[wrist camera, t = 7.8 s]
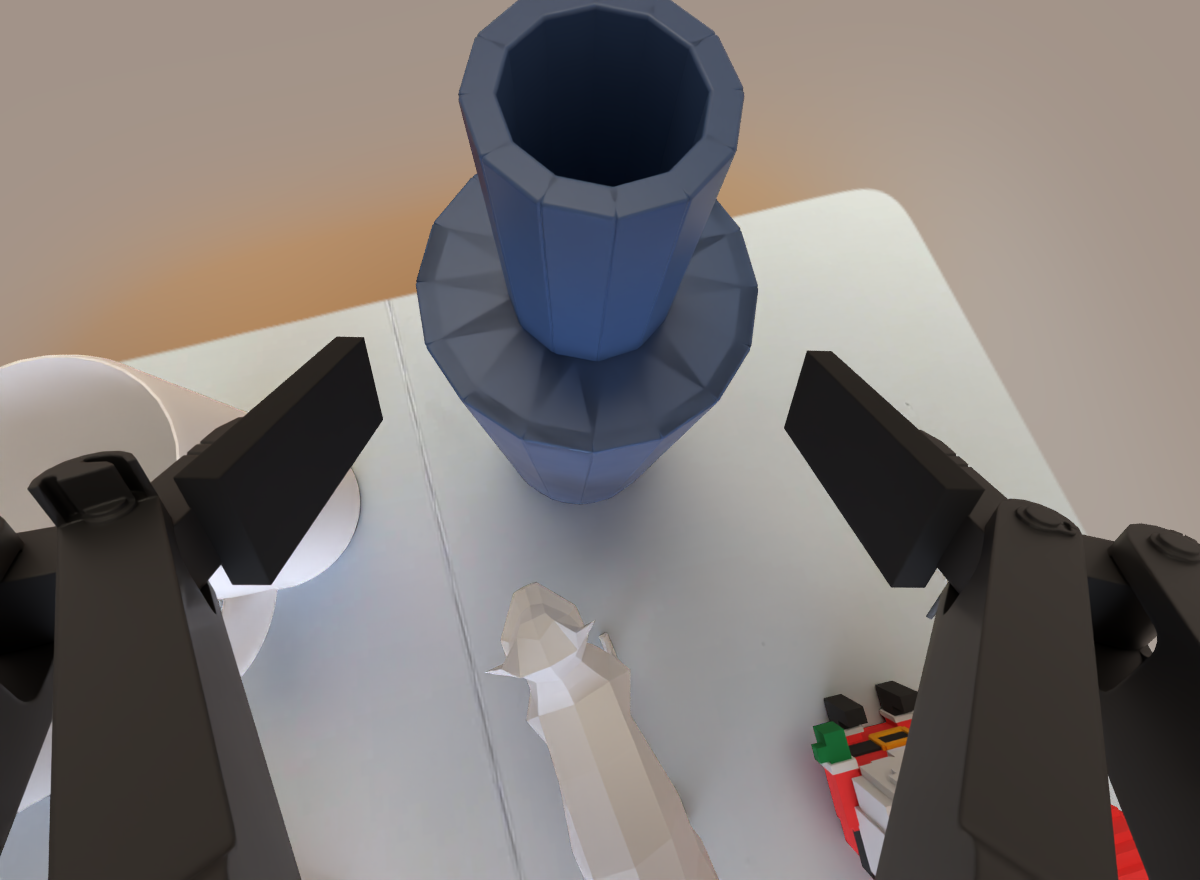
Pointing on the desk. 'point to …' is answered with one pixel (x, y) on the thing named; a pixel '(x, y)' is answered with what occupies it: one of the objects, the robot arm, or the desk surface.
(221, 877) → the robot arm
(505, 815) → the desk surface
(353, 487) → the mug
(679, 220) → the blue bottle
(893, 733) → the figurine
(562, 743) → the cat figurine
